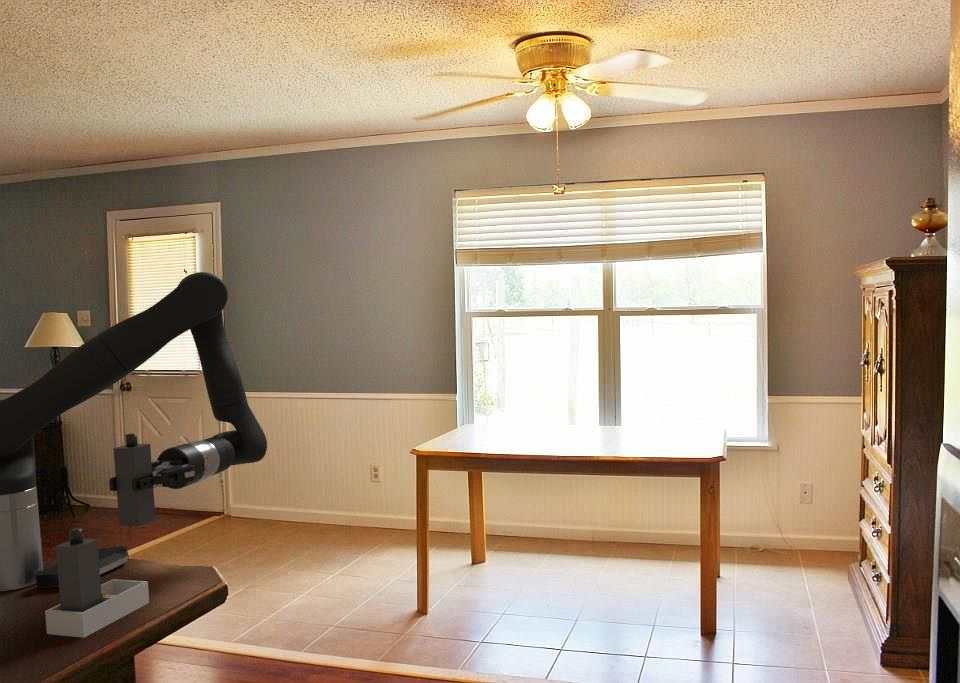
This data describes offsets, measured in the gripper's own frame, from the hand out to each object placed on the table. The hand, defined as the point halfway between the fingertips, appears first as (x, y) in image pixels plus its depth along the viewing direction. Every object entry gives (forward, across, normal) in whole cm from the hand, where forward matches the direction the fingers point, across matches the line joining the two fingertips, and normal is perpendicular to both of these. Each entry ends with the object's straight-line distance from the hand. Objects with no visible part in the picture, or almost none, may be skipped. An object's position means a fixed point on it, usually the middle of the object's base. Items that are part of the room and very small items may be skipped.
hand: (122, 485), depth 135 cm
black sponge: (-11, -20, +20) cm, 30 cm away
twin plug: (+11, 0, +19) cm, 22 cm away
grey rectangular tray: (+7, 0, +20) cm, 21 cm away
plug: (-3, 0, +7) cm, 8 cm away
